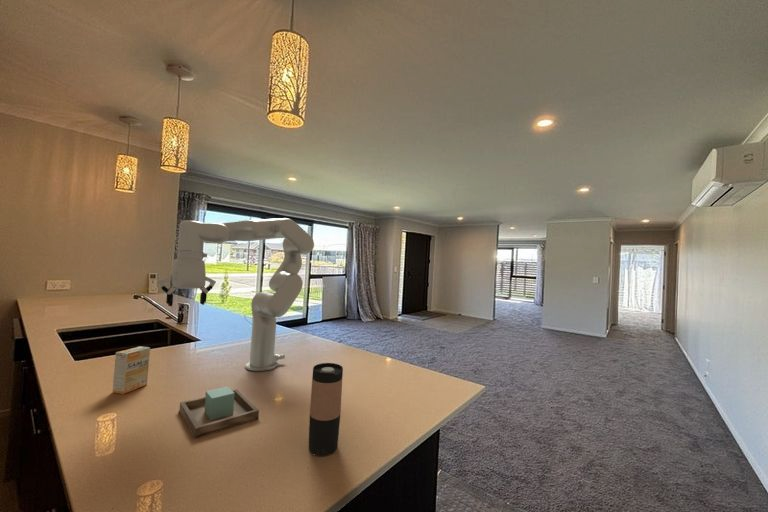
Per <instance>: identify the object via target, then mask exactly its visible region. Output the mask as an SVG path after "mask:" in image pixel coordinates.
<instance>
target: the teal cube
mask: <svg viewBox="0 0 768 512" xmlns="http://www.w3.org/2000/svg"><path fill="white" fill-rule="evenodd" d="M232 390H233V389H231V388H230V387H229V386H224V387H219V388H213V389H209V390H205V396H204V397H205V411H204V412H205V413H206V415H207V416H208V417H209V419H210V420H213V419H216V418H220V417H223V416H227V415H230V414H233V409H234V395H235V393H234V392H233V391H232Z"/></svg>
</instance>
